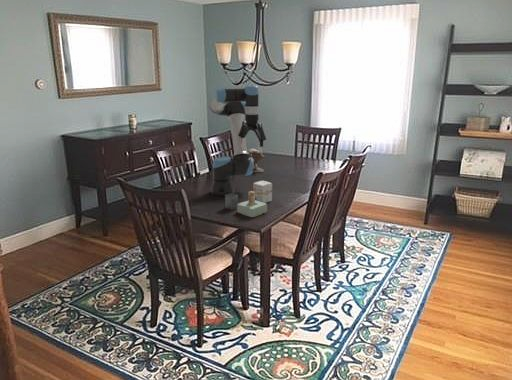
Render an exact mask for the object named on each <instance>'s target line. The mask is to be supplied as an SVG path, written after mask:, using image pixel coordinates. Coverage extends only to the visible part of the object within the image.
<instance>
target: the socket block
mask: <svg viewBox="0 0 512 380" xmlns="http://www.w3.org/2000/svg"><path fill="white" fill-rule="evenodd" d="M236 210H237V211H236V212H237V213H238V214H242V215H243V216H246V217H250V218H252V217H253V218H255V217H258V216H261V215H263V213H264V214H266V213H268V204H267V203H263V202H259V201H256V200H255V205H254V206H251V205H249V204H248V200H246V201H243V202H242V201H241V202H238V204H237V209H236Z"/></svg>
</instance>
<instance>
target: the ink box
mask: <svg viewBox="0 0 512 380" xmlns="http://www.w3.org/2000/svg"><path fill="white" fill-rule="evenodd" d="M252 191H254V192H255V200H256V201H259V202H263V203H266V204H267V203H269V202H272V201H273V183H272V182H269V181H266V180H259V181H255V182H253V190H252Z"/></svg>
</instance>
